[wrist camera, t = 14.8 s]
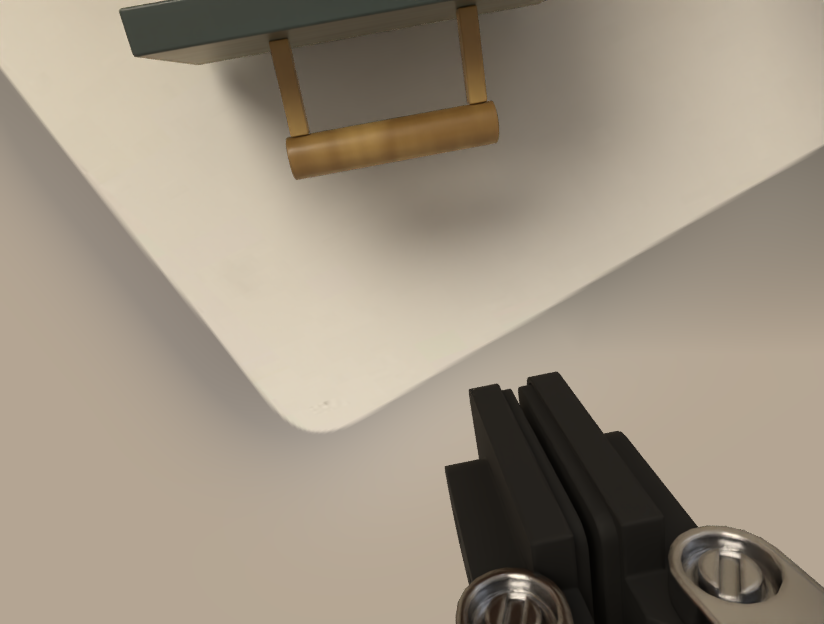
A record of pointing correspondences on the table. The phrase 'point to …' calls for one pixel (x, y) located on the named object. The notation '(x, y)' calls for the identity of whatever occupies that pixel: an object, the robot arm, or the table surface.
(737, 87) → the table surface
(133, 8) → the drawer
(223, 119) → the table surface
